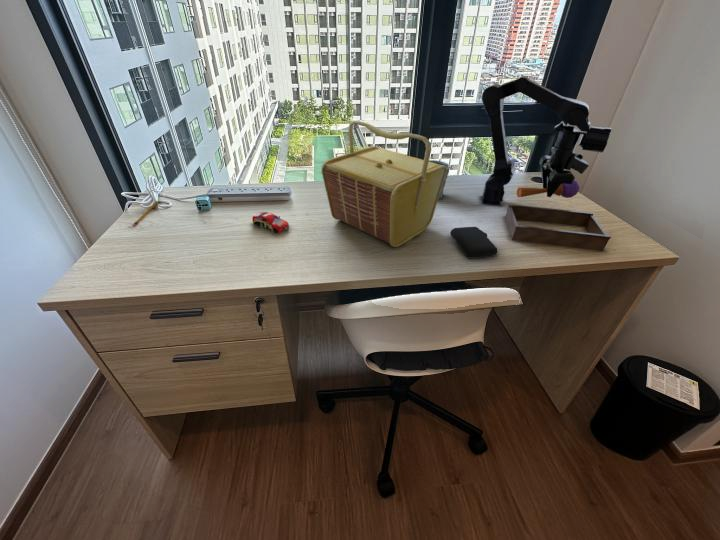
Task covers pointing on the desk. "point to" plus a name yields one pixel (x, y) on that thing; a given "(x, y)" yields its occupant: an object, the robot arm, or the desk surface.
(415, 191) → the picnic basket
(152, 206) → the pencil
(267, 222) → the race car
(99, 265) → the desk surface
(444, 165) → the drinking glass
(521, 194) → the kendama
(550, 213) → the wooden tray
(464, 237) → the carrying case
